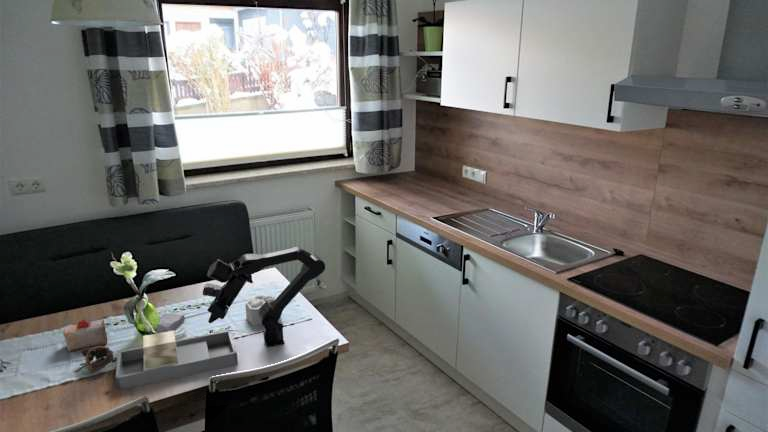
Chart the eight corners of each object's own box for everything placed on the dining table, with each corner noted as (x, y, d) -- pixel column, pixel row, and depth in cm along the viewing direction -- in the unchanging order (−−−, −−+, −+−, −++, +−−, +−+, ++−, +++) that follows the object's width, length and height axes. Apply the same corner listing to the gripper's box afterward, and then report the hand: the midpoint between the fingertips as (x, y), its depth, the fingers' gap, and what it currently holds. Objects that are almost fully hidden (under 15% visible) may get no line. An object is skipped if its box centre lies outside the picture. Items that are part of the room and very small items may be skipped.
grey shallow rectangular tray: (231, 340, 195) (230, 329, 194) (237, 364, 181) (236, 352, 179) (120, 362, 181) (118, 351, 180) (117, 390, 166) (115, 378, 165)
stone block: (148, 337, 201) (171, 335, 199) (145, 325, 200) (167, 323, 198) (166, 323, 212) (187, 321, 210) (163, 312, 211) (184, 310, 209)
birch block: (176, 350, 183) (174, 330, 181) (178, 362, 176) (175, 341, 174) (146, 356, 179) (143, 336, 177) (146, 368, 172) (142, 347, 170)
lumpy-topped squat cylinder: (244, 316, 213) (242, 297, 211) (274, 308, 220) (273, 290, 217) (252, 327, 205) (251, 307, 202) (283, 318, 212) (282, 299, 209)
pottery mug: (122, 358, 184) (117, 347, 178) (106, 382, 178) (100, 371, 172) (92, 347, 185) (86, 336, 179) (74, 371, 179) (67, 360, 173)
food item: (65, 354, 186) (60, 330, 183) (67, 343, 192) (62, 320, 189) (107, 345, 191) (103, 322, 188) (108, 335, 198) (104, 312, 195)
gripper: (218, 268, 190) (196, 302, 191) (206, 283, 172) (182, 320, 173) (244, 283, 192) (222, 317, 193) (235, 300, 174) (211, 337, 175)
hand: (209, 322), depth 184 cm, fingers closed
